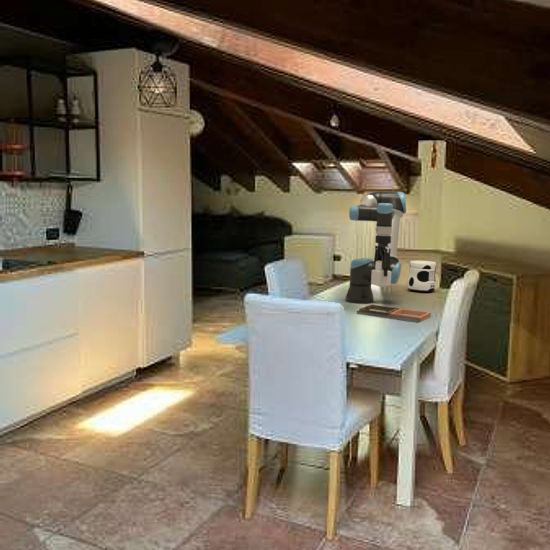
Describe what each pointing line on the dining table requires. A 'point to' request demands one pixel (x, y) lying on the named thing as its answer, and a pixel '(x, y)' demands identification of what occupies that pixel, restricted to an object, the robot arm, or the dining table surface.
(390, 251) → the robot arm
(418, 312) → the frame
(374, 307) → the frame
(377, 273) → the medicine bottle
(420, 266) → the milk container
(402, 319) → the rail bar
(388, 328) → the dining table surface
